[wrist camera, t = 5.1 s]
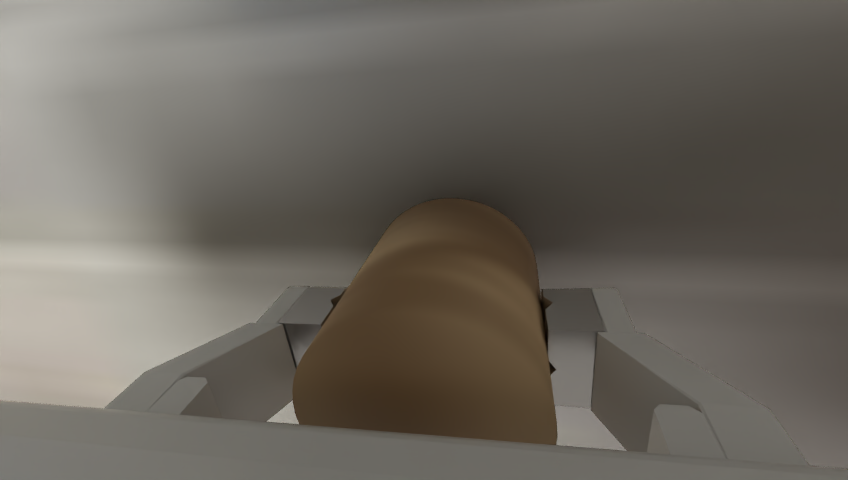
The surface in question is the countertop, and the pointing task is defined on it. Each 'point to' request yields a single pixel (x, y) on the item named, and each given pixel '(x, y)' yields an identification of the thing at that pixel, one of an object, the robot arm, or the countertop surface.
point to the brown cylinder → (436, 334)
